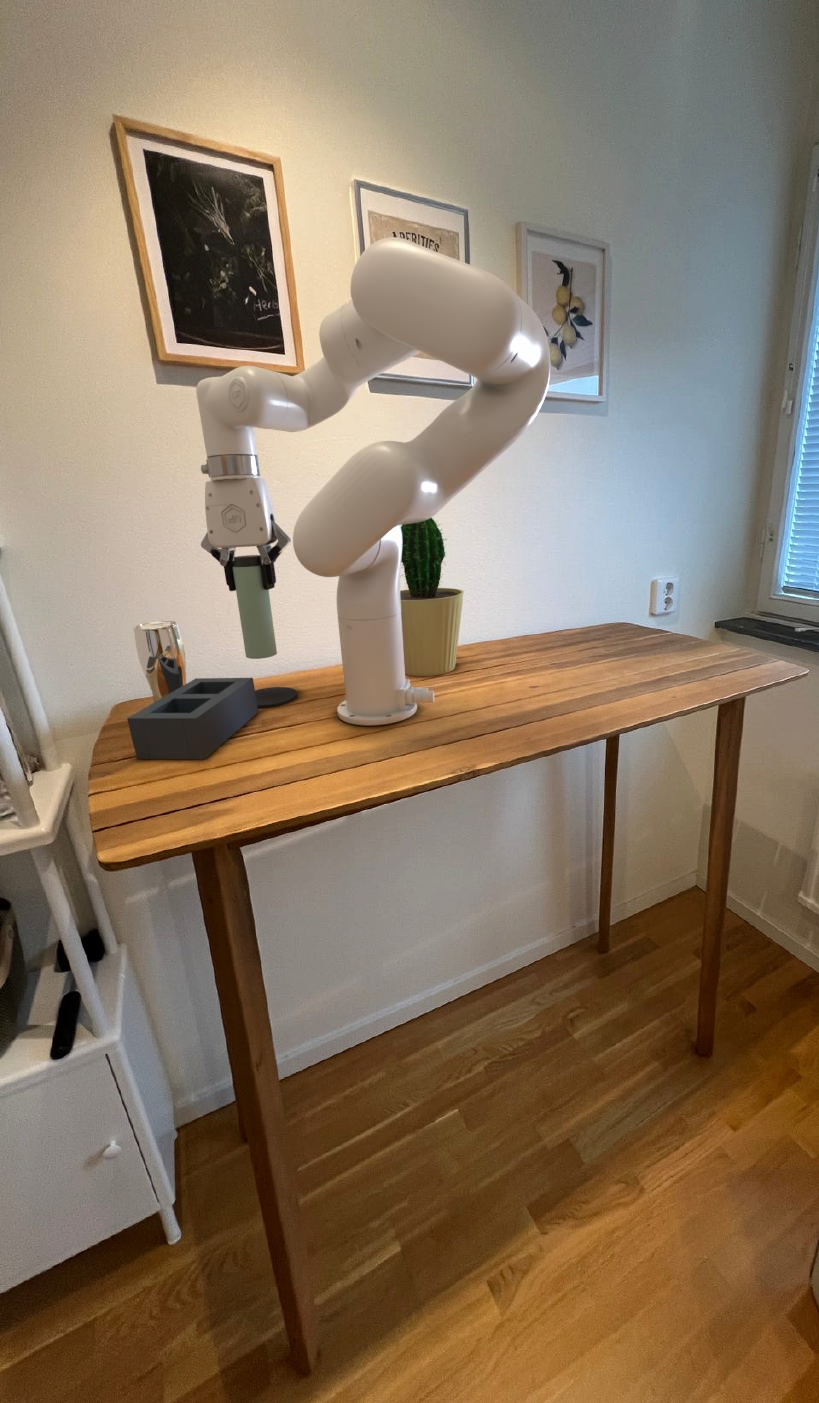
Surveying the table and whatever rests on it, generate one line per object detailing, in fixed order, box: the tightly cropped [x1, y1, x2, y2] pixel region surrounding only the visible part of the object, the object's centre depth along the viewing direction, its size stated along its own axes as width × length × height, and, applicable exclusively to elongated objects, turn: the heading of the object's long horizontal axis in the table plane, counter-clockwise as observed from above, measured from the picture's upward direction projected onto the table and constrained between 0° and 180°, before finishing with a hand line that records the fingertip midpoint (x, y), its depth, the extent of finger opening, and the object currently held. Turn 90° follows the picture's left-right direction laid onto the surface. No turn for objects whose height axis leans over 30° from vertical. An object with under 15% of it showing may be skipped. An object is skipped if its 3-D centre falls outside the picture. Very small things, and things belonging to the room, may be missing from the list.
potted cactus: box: [400, 517, 464, 677], centre depth 105 cm, size 15×15×30 cm
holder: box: [126, 677, 259, 761], centre depth 82 cm, size 10×18×6 cm, turn 172°
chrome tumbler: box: [133, 620, 187, 703], centre depth 90 cm, size 7×7×15 cm
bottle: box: [233, 554, 278, 660], centre depth 92 cm, size 5×5×16 cm
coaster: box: [255, 686, 299, 709], centre depth 97 cm, size 10×10×1 cm
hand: (252, 588), depth 90 cm, fingers closed on bottle, 5 cm apart
